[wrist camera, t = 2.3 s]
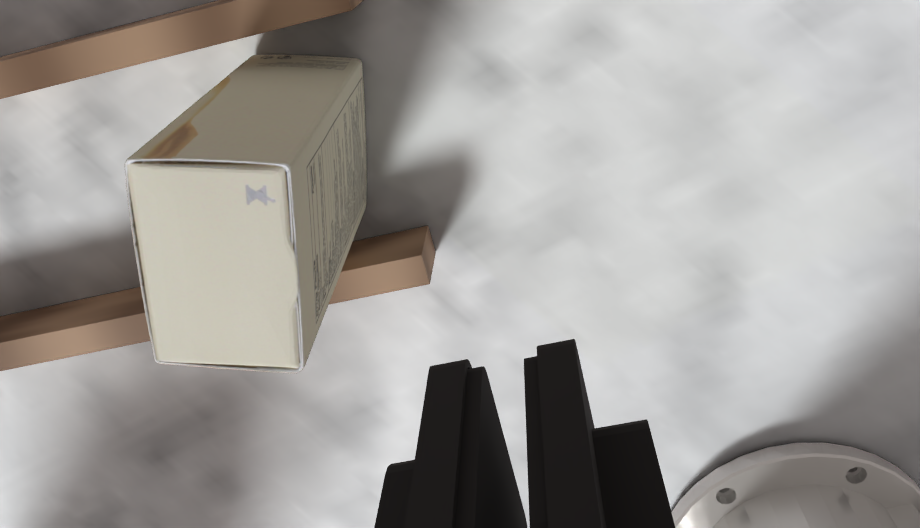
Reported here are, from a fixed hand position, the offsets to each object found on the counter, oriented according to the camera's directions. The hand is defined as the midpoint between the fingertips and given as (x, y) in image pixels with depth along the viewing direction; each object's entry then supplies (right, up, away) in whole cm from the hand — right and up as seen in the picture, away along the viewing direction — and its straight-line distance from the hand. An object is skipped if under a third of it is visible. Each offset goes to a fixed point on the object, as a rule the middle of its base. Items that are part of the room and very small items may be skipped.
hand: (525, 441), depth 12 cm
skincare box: (-7, +7, +22) cm, 24 cm away
